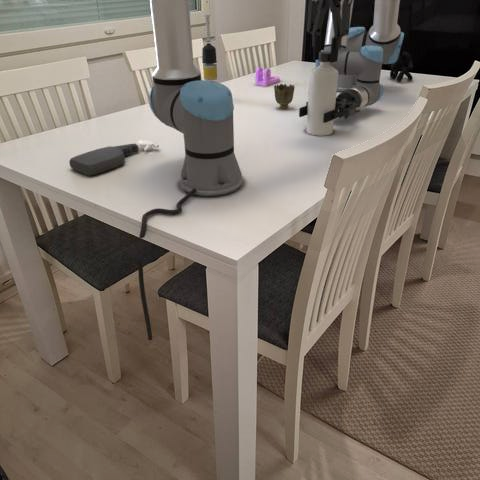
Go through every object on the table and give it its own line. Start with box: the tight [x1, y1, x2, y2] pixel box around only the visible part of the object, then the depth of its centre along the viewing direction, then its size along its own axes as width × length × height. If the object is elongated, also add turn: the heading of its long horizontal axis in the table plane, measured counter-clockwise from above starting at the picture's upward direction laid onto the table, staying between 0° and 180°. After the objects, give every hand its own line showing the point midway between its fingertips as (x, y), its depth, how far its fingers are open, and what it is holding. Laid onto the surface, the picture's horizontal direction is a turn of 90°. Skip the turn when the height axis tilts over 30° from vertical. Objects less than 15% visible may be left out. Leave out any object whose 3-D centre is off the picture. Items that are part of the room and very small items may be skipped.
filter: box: [201, 14, 218, 82], centre depth 171 cm, size 6×6×30 cm
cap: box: [318, 51, 331, 62], centre depth 131 cm, size 4×4×2 cm
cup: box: [273, 83, 296, 110], centre depth 163 cm, size 8×7×8 cm
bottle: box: [305, 62, 338, 137], centre depth 137 cm, size 8×8×23 cm
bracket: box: [254, 66, 280, 87], centre depth 199 cm, size 13×6×7 cm, turn 143°
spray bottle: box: [68, 139, 160, 177], centre depth 124 cm, size 3×11×24 cm
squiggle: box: [386, 51, 414, 83], centre depth 198 cm, size 11×10×15 cm
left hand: (325, 60), depth 131 cm, fingers open, 5 cm apart
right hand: (312, 115), depth 137 cm, fingers closed on bottle, 8 cm apart
